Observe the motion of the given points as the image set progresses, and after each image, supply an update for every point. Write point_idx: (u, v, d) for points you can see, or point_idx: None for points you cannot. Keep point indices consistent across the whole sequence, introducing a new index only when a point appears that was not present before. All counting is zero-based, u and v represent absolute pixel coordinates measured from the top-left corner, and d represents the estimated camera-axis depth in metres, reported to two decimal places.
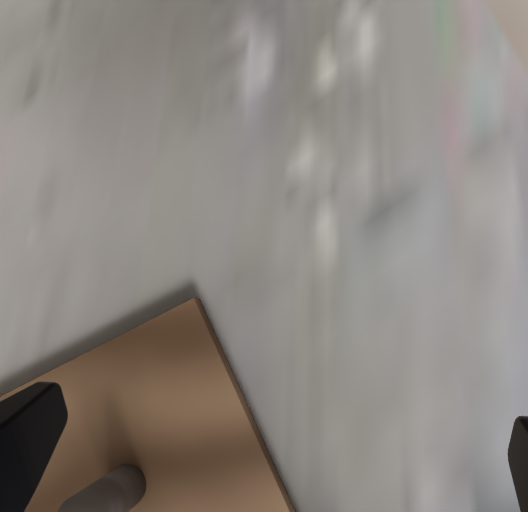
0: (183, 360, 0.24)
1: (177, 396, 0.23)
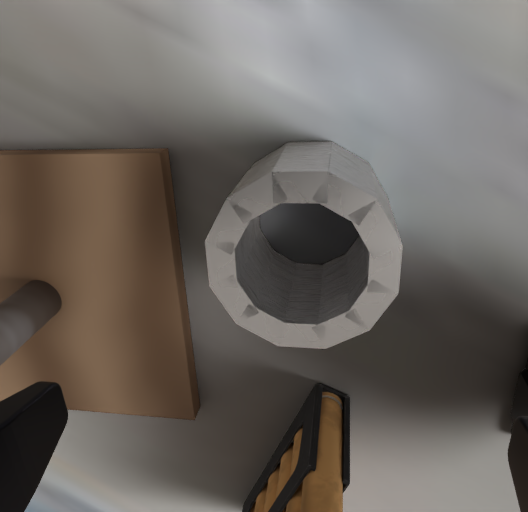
0: None
1: None
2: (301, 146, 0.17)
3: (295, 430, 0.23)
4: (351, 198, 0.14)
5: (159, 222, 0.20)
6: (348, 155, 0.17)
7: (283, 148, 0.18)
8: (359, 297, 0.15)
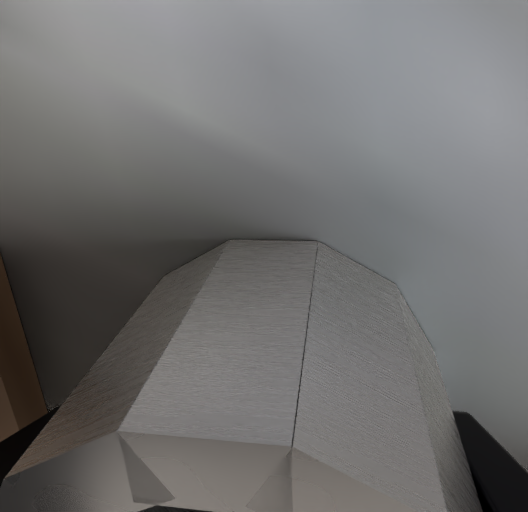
0: None
1: None
2: (249, 262, 0.08)
3: None
4: None
5: None
6: (353, 282, 0.08)
7: (211, 265, 0.08)
8: None
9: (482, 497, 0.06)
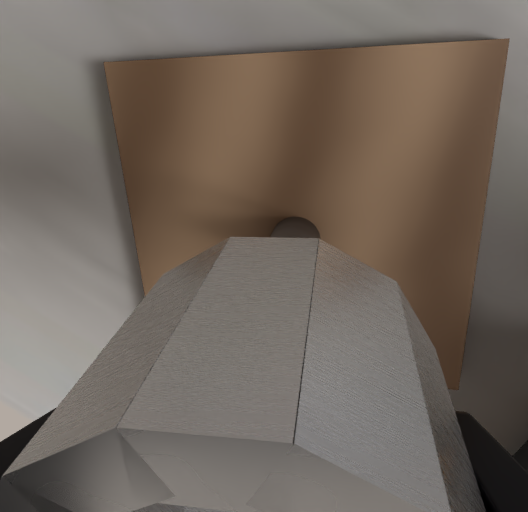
0: (178, 111, 0.17)
1: (219, 137, 0.17)
2: (250, 259, 0.08)
3: None
4: None
5: (482, 134, 0.16)
6: (354, 279, 0.08)
7: (211, 262, 0.08)
8: None
9: (482, 497, 0.06)
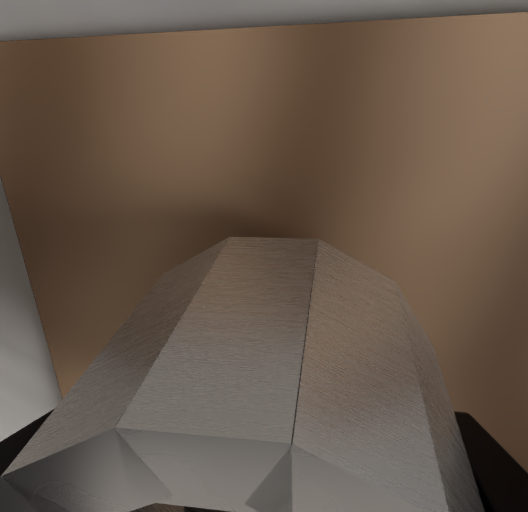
0: (92, 125, 0.11)
1: (160, 169, 0.11)
2: (249, 259, 0.08)
3: None
4: None
5: None
6: (353, 279, 0.08)
7: (210, 262, 0.08)
8: None
9: (482, 497, 0.06)
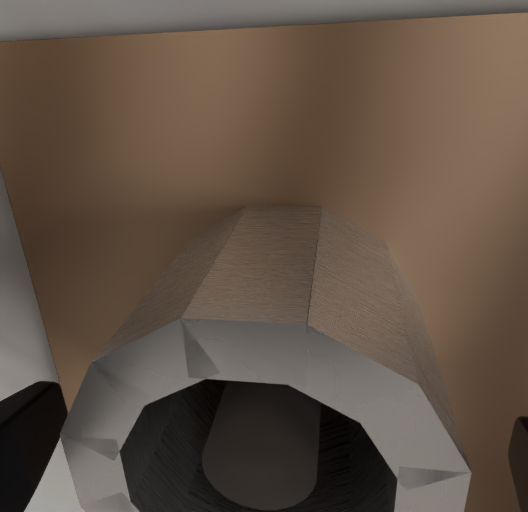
0: (94, 125, 0.11)
1: (162, 169, 0.11)
2: (266, 220, 0.10)
3: None
4: (359, 379, 0.06)
5: None
6: (351, 236, 0.10)
7: (234, 223, 0.10)
8: None
9: None
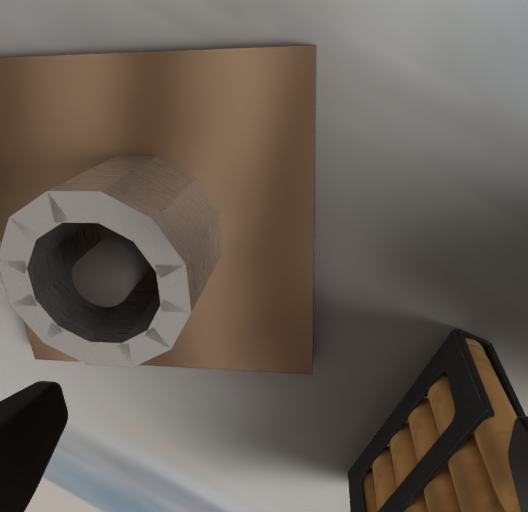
0: (24, 107, 0.18)
1: (65, 134, 0.18)
2: (120, 161, 0.17)
3: (430, 382, 0.21)
4: (128, 218, 0.14)
5: (303, 133, 0.17)
6: (167, 170, 0.17)
7: (102, 163, 0.17)
8: (155, 316, 0.15)
9: None
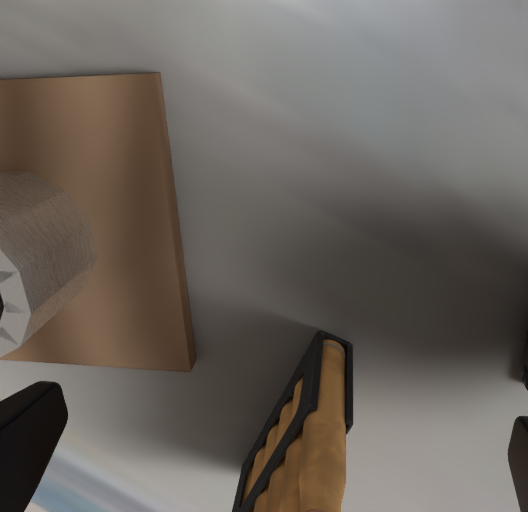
0: None
1: None
2: None
3: (295, 380, 0.22)
4: None
5: (151, 152, 0.19)
6: (32, 185, 0.19)
7: None
8: (1, 317, 0.17)
9: None
